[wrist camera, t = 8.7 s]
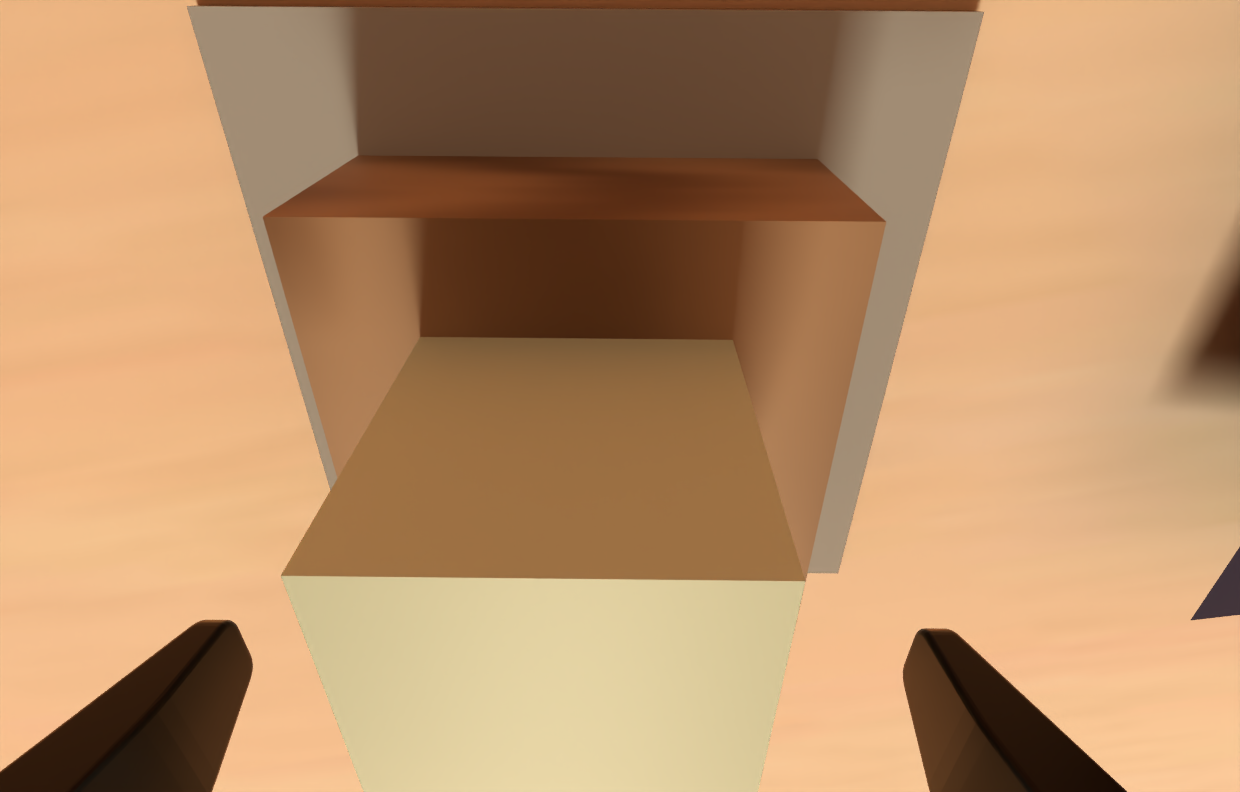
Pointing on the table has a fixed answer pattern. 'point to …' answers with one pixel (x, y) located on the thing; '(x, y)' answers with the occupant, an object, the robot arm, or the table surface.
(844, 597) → the table surface
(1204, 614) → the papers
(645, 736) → the cube
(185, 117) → the table surface
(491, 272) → the plinth
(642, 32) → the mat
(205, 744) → the robot arm
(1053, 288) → the table surface
